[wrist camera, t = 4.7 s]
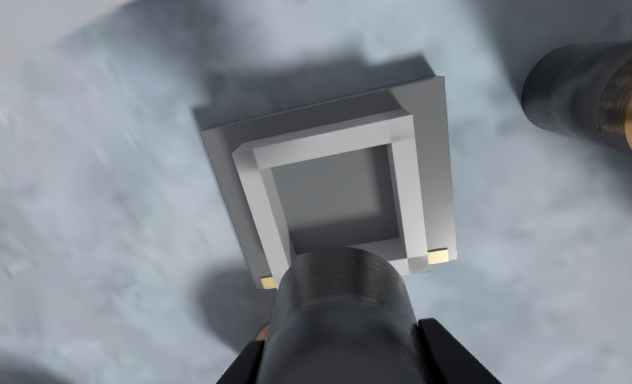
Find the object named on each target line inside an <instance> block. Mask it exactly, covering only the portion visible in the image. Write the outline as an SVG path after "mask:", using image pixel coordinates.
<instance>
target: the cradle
mask: <svg viewBox="0 0 632 384" xmlns="http://www.w3.org/2000/svg"><path fill="white" fill-rule="evenodd" d="M200 134H201V136H202V139H203V142H204V145H205V147H206V150H207V153H208V156H209V158H210V161H211V164H212V167H213V169H214V172H215V175H216V178H217V181H218V183H219V186H220V189H221V192H222V194H223V197H224V200H225V203H226V205H227V208H228V211H229V214H230V216H231V219H232V222H233V225H234V227H235V230H236V233H237V236H238V239H239V241H240V244H241V247H242V250H243V252H244V255H245V258H246V261H247V263H248V266H249V269H250V272H251V274H252V277H253V280H254V283H255V285H256V288H257V289H271V288H277V291H278V287H279V284H280V281H281V279H282V277H283V275H284V274H285V272H286V271H287V270H288V269H289V267H290V266H291V265H292V264H294V263H295V262H296V261H297V260H299V259H300V258H302V257H303V256H305V255H307V254H309V253H311V252H314V251H317V250H320V249H324V248H329V247H353V248H359V249H363V250H366V251H369V252H372V253H374V254H376V255H378V256H380V257H381V258H383V259H384V260H386V261H387V262H389V263H390V264H391V265H392V266H393V267H394V268H395V269H396V270H397V272H398V273H399V274H400V276H403V275H410V274H417V273H423V272H430V270H429V264H435V263H441V262H448V261H449V260H454V259H457V250H456V236H455V222H454V207H453V193H452V179H451V164H450V150H449V136H448V122H447V107H446V93H445V79H444V76H432V77H428V78H424V79H419V80H415V81H410V82H406V83H402V84H397V85H393V86H388V87H384V88H380V89H375V90H371V91H366V92H362V93H358V94H353V95H349V96H344V97H340V98H336V99H331V100H327V101H323V102H318V103H314V104H309V105H305V106H301V107H296V108H292V109H287V110H283V111H279V112H274V113H270V114H265V115H261V116H257V117H252V118H248V119H244V120H239V121H235V122H230V123H226V124H222V125H217V126H213V127H209V128H207V129H205V130H203V131H201V132H200Z"/></svg>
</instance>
